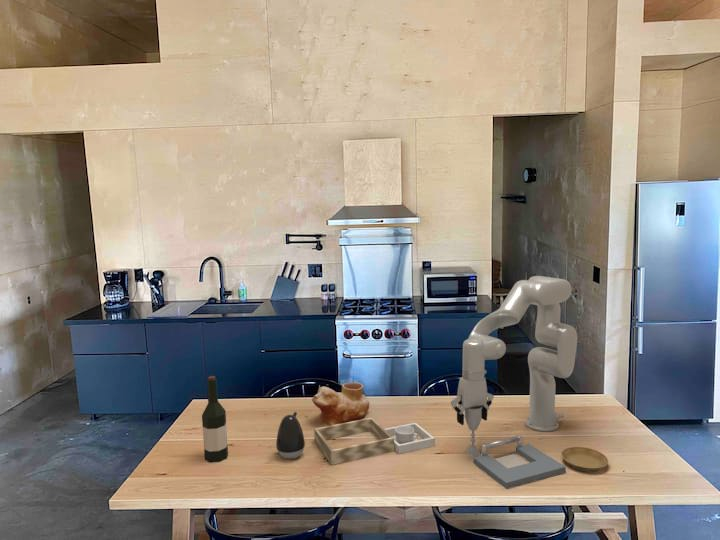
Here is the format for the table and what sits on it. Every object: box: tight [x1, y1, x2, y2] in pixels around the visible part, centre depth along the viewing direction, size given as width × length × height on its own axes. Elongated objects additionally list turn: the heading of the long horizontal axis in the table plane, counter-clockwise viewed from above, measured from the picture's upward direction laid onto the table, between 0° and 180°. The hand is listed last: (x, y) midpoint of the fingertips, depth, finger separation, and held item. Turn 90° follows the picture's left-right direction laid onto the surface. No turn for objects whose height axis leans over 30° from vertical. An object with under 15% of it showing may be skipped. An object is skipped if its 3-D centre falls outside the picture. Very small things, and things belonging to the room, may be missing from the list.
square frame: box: [384, 422, 436, 455], centre depth 199 cm, size 15×15×3 cm
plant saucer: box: [561, 446, 609, 473], centre depth 180 cm, size 15×15×3 cm
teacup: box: [392, 425, 419, 444], centre depth 200 cm, size 10×10×5 cm
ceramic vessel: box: [311, 382, 370, 426], centre depth 221 cm, size 14×26×15 cm, turn 123°
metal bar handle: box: [481, 434, 523, 456], centre depth 186 cm, size 17×2×6 cm, turn 112°
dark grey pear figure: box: [275, 411, 306, 460], centre depth 190 cm, size 10×10×15 cm
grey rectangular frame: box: [472, 443, 567, 490], centre depth 178 cm, size 24×18×2 cm
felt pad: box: [494, 453, 528, 468], centre depth 182 cm, size 9×9×1 cm
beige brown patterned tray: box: [313, 417, 395, 466], centre depth 196 cm, size 24×20×5 cm
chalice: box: [464, 405, 483, 457], centre depth 188 cm, size 7×7×18 cm
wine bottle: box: [201, 375, 229, 464], centre depth 188 cm, size 8×8×30 cm
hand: (472, 421), depth 187 cm, fingers open, 9 cm apart
